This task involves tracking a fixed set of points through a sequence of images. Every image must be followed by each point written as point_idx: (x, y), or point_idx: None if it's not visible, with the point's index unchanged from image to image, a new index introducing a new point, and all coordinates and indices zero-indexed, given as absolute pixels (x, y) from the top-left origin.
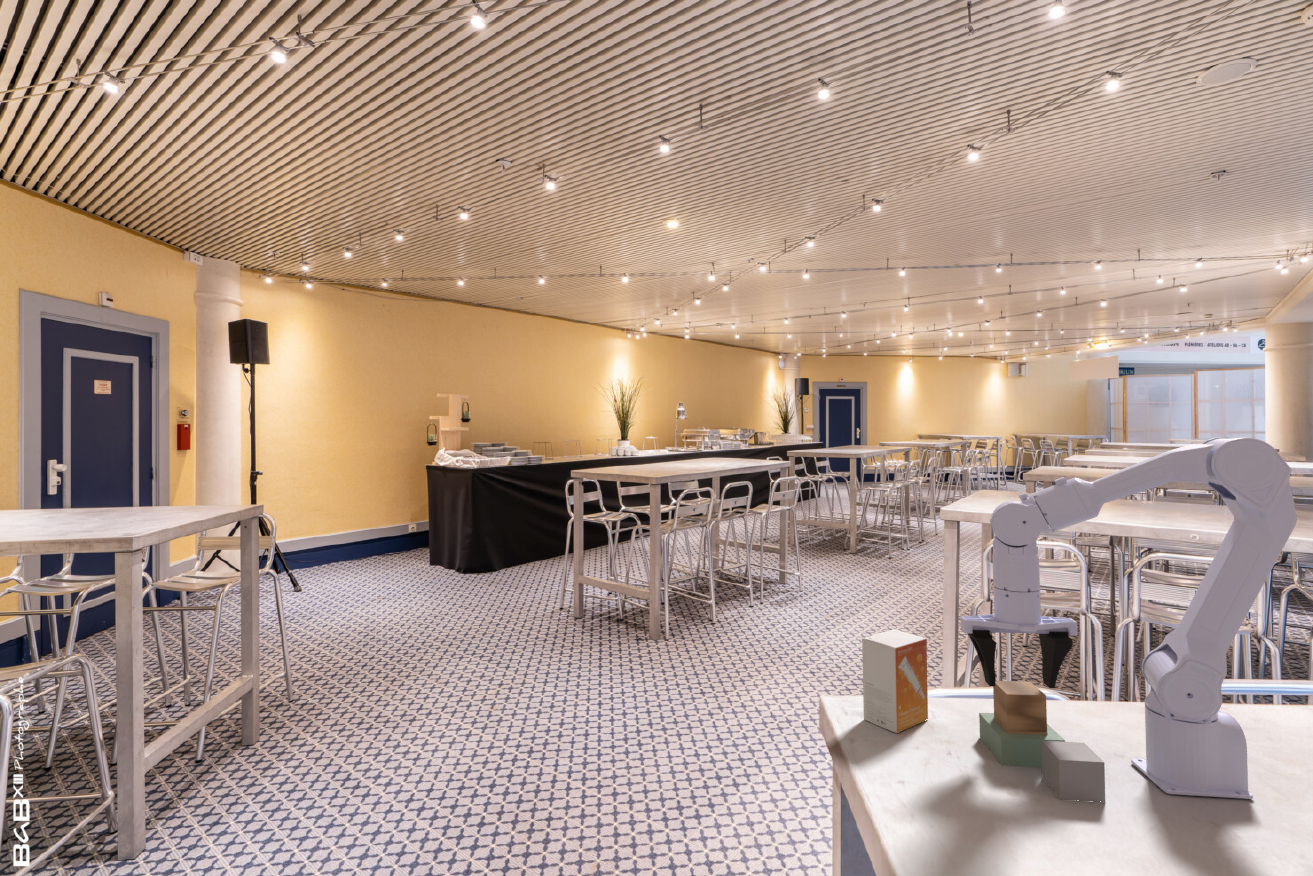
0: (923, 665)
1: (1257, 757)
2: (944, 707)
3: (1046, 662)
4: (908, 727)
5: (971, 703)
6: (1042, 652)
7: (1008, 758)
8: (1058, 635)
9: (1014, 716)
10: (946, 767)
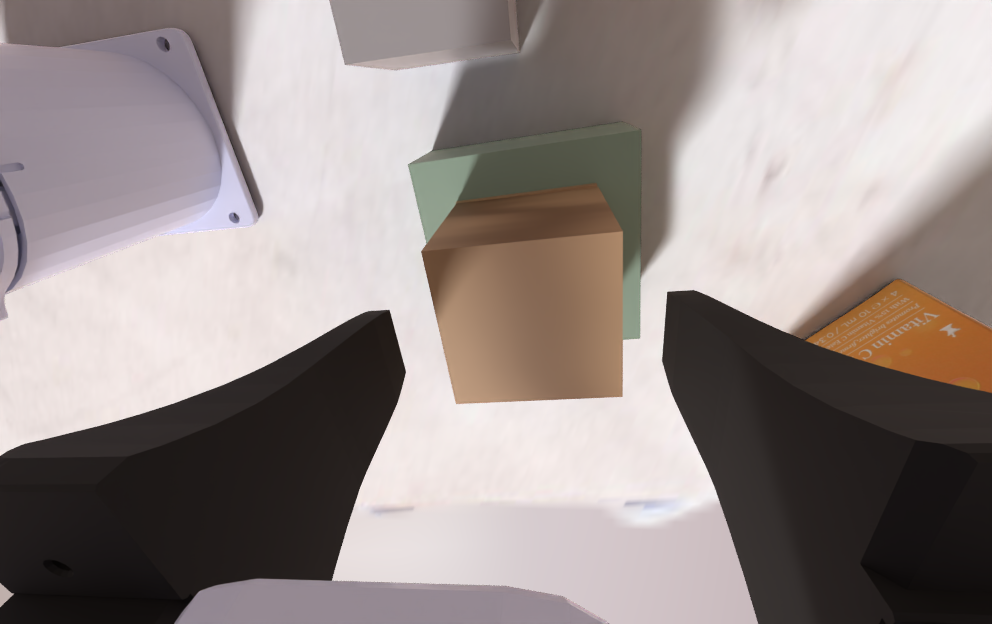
0: None
1: (15, 309)
2: (658, 454)
3: (348, 431)
4: (837, 321)
5: (577, 479)
6: (345, 510)
7: (603, 127)
8: (86, 612)
9: (575, 205)
10: (833, 54)
